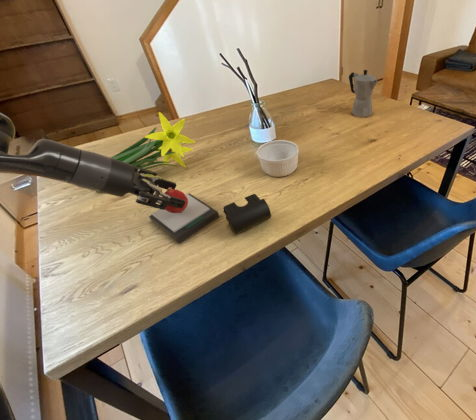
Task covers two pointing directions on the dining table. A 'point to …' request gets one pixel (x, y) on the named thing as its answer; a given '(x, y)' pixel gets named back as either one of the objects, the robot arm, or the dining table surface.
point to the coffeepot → (362, 93)
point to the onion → (178, 195)
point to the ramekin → (278, 157)
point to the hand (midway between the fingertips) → (179, 195)
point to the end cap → (247, 213)
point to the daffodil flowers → (157, 146)
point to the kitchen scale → (185, 219)
